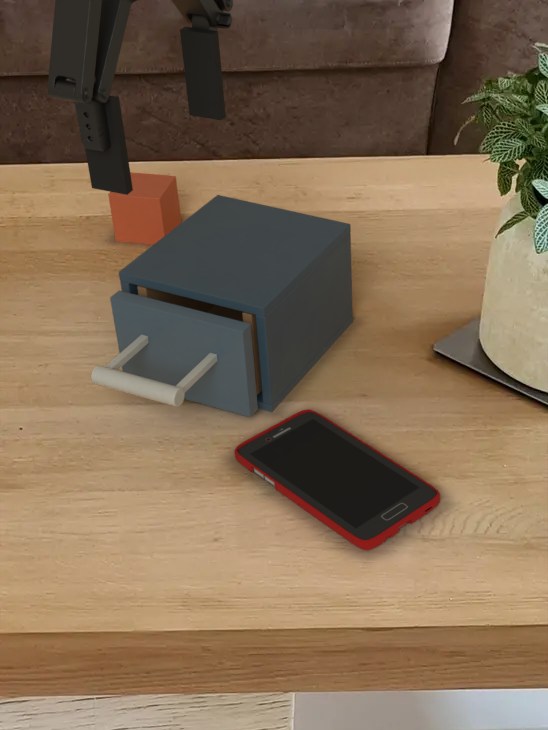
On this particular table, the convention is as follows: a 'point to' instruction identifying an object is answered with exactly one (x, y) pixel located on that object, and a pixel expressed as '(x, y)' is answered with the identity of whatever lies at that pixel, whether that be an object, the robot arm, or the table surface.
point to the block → (146, 209)
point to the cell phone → (338, 478)
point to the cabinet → (260, 280)
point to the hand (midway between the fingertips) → (163, 151)
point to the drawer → (183, 352)
